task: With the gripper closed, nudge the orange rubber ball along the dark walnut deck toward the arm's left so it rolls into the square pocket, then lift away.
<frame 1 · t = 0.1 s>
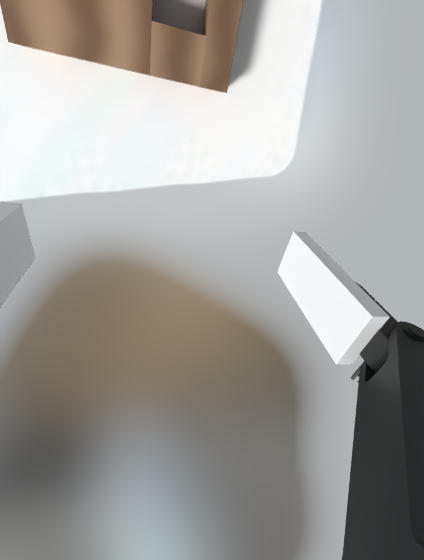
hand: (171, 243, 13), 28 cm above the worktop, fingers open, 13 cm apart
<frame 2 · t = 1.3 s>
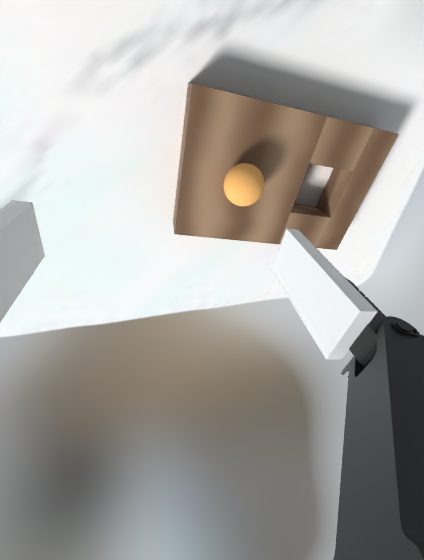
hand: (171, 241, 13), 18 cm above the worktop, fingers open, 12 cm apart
ball: (243, 185, 25), point 5 cm above the worktop, touching deck
deck: (270, 177, 31), on the worktop
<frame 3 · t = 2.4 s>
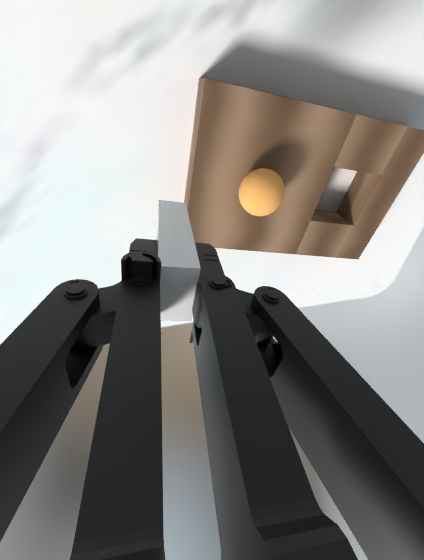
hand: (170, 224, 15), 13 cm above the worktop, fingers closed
ball: (261, 192, 23), point 5 cm above the worktop, touching deck
deck: (288, 181, 28), on the worktop
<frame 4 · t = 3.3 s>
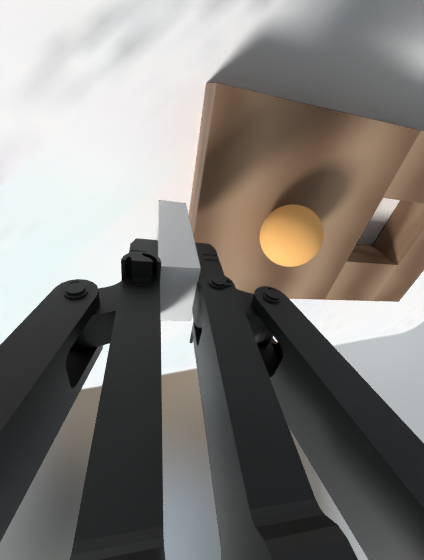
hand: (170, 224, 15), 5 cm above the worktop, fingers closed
ball: (290, 236, 17), point 5 cm above the worktop, touching deck
deck: (316, 211, 22), on the worktop
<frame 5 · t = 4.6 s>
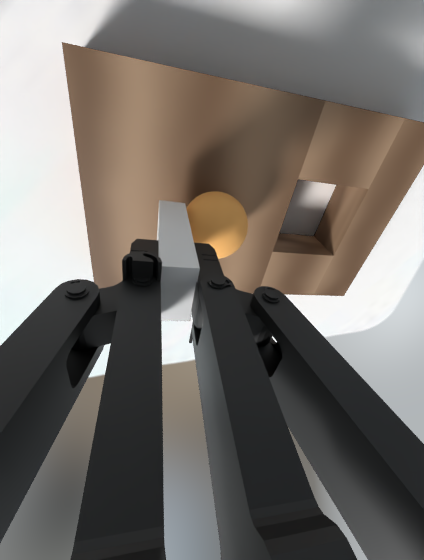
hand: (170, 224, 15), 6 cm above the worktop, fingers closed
ball: (214, 226, 15), point 6 cm above the worktop, tilted 47°, touching gripper
deck: (242, 198, 20), on the worktop
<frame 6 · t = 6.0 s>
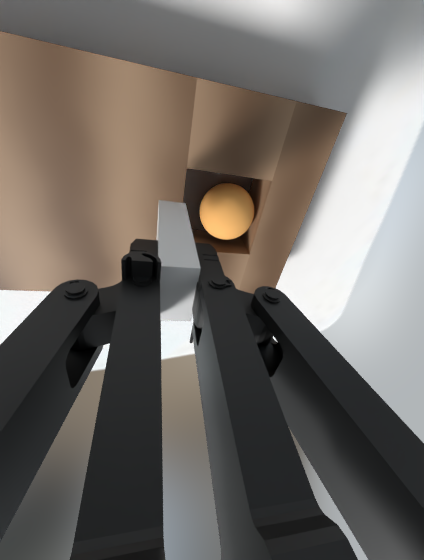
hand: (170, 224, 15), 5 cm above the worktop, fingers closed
ball: (226, 212, 19), point 2 cm above the worktop, tilted 26°
deck: (147, 190, 19), on the worktop
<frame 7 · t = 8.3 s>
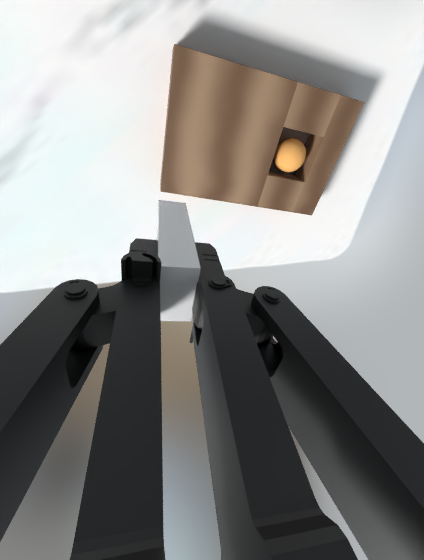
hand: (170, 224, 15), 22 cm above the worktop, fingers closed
ball: (289, 155, 33), point 2 cm above the worktop, tilted 45°
deck: (250, 143, 34), on the worktop
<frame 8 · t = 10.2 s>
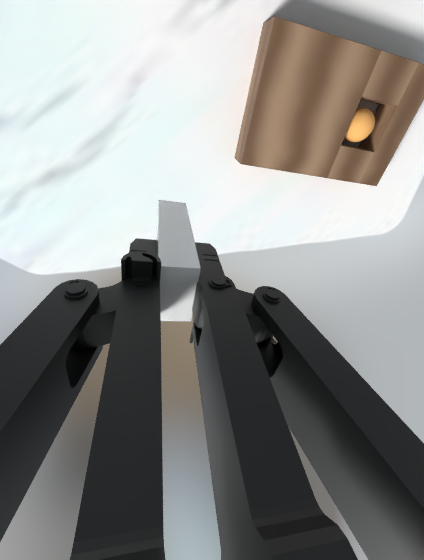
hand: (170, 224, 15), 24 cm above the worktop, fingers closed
ball: (357, 125, 35), point 2 cm above the worktop, tilted 60°
deck: (322, 116, 35), on the worktop
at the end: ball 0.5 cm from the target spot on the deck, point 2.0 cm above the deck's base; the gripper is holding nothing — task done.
